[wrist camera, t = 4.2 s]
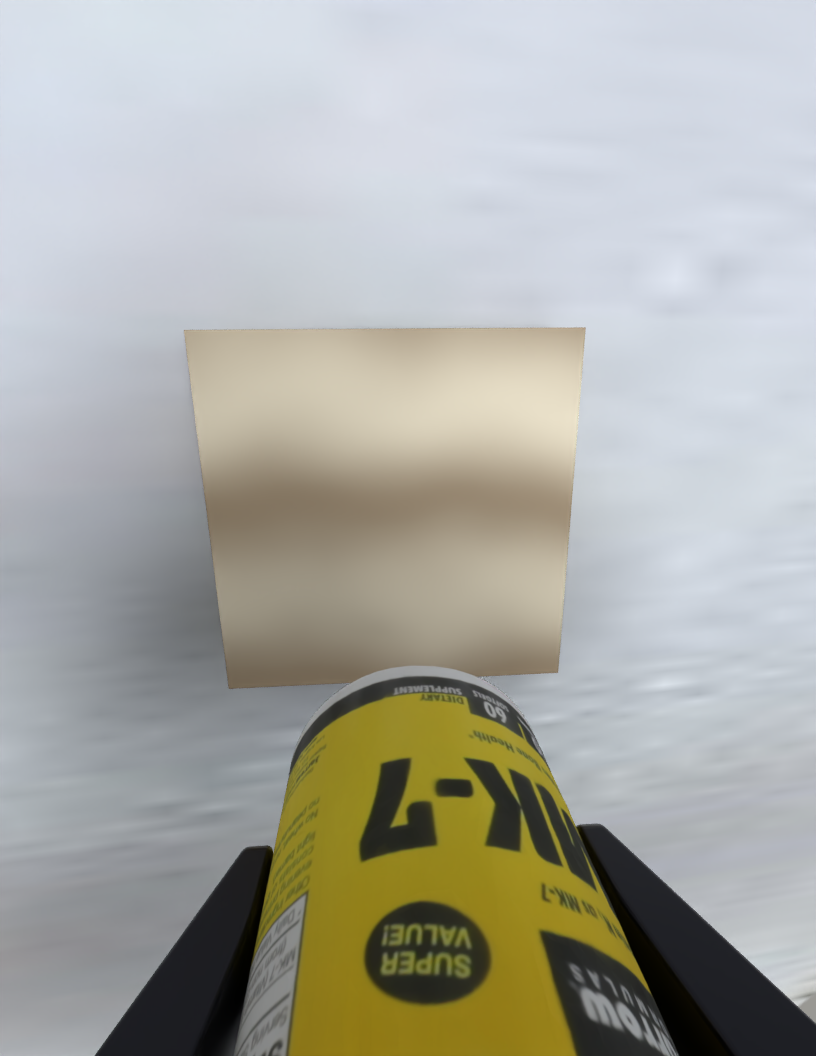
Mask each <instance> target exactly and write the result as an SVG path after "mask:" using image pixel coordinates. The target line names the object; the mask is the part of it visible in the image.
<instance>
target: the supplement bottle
mask: <svg viewBox="0 0 816 1056" xmlns="http://www.w3.org/2000/svg"><path fill="white" fill-rule="evenodd" d="M234 1056H679V1054H678V1052H677V1050H676V1048H675V1045H674V1043H673V1041H672V1038H671V1036H670V1034H669V1032H668V1029H667V1027H666V1025H665V1022H664V1020H663V1018H662V1016H661V1013H660V1011H659V1009H658V1007H657V1005H656V1003H655V1000H654V998H653V996H652V994H651V992H650V990H649V987H648V985H647V983H646V981H645V979H644V977H643V974H642V972H641V970H640V968H639V966H638V964H637V962H636V959H635V957H634V955H633V953H632V951H631V949H630V946H629V944H628V942H627V939H626V937H625V935H624V932H623V930H622V927H621V925H620V923H619V920H618V918H617V916H616V913H615V911H614V909H613V906H612V904H611V902H610V900H609V898H608V895H607V894H606V892H605V890H604V888H603V886H602V884H601V881H600V879H599V876H598V874H597V872H596V870H595V868H594V866H593V864H592V862H591V860H590V857H589V855H588V853H587V851H586V848H585V846H584V844H583V842H582V839H581V837H580V835H579V832H578V830H577V828H576V826H575V824H574V822H573V819H572V817H571V815H570V812H569V810H568V807H567V805H566V803H565V801H564V799H563V797H562V795H561V793H560V791H559V789H558V786H557V784H556V782H555V780H554V778H553V776H552V773H551V771H550V769H549V767H548V765H547V762H546V760H545V757H544V755H543V753H542V750H541V748H540V746H539V744H538V742H537V740H536V738H535V736H534V734H533V732H532V730H531V728H530V726H529V724H528V722H527V720H526V719H525V717H524V716H523V714H522V713H521V711H520V710H519V709H518V708H517V706H516V705H515V704H514V703H513V702H512V701H511V700H510V699H509V698H508V697H507V696H506V695H505V694H504V693H503V692H502V691H500V690H499V689H497V688H496V687H495V686H493V685H491V684H490V683H488V682H486V681H485V680H483V679H480V678H478V677H476V676H473V675H471V674H468V673H465V672H462V671H458V670H455V669H450V668H443V667H437V666H403V667H395V668H389V669H385V670H381V671H377V672H374V673H372V674H369V675H366V676H364V677H362V678H360V679H358V680H356V681H354V682H352V683H350V684H349V685H347V686H345V687H344V688H342V689H341V690H339V691H338V692H337V693H335V694H334V695H333V696H331V697H330V698H329V699H328V700H327V701H326V702H325V703H324V704H323V705H322V706H321V707H320V708H319V709H318V710H317V711H316V713H315V714H314V715H313V716H312V718H311V719H310V720H309V722H308V723H307V725H306V727H305V728H304V730H303V732H302V734H301V736H300V738H299V740H298V742H297V745H296V748H295V751H294V754H293V758H292V762H291V767H290V773H289V779H288V784H287V789H286V794H285V799H284V804H283V809H282V814H281V819H280V824H279V828H278V833H277V838H276V844H275V849H274V854H273V859H272V864H271V869H270V874H269V879H268V884H267V889H266V894H265V899H264V904H263V909H262V914H261V919H260V924H259V929H258V934H257V939H256V944H255V949H254V954H253V958H252V963H251V968H250V973H249V979H248V985H247V990H246V995H245V1000H244V1005H243V1010H242V1015H241V1020H240V1025H239V1030H238V1035H237V1040H236V1045H235V1051H234Z"/></svg>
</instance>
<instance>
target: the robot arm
mask: <svg viewBox="0 0 816 1056" xmlns="http://www.w3.org/2000/svg"><path fill="white" fill-rule="evenodd" d="M576 828H577V830H578V832H579V835H580V837H581V839H582V842H583V844H584V846H585V848H586V851H587V853H588V855H589V857H590V860H591V862H592V864H593V866H594V868H595V870H596V872H597V874H598V876H599V879H600V881H601V884H602V886H603V888H604V890H605V892H606V894H607V895H608V898H609V900H610V902H611V904H612V906H613V909H614V911H615V913H616V916H617V918H618V920H619V923H620V925H621V927H622V930H623V932H624V935H625V937H626V939H627V942H628V944H629V946H630V949H631V951H632V953H633V955H634V957H635V959H636V962H637V964H638V966H639V968H640V970H641V972H642V974H643V977H644V979H645V981H646V983H647V985H648V987H649V990H650V992H651V994H652V996H653V998H654V1000H655V1003H656V1005H657V1007H658V1009H659V1011H660V1013H661V1016H662V1018H663V1020H664V1022H665V1025H666V1027H667V1029H668V1032H669V1034H670V1036H671V1038H672V1041H673V1043H674V1045H675V1048H676V1050H677V1052H678V1054H679V1056H816V1023H815V1022H813V1020H812V1019H810V1018H809V1017H808V1016H807V1015H806V1014H805V1013H804V1012H803V1011H802V1010H801V1009H800V1008H799V1007H798V1006H797V1005H795V1004H794V1003H793V1002H792V1001H791V1000H790V999H789V998H788V997H787V996H786V995H785V994H784V993H783V992H781V991H780V990H779V989H778V988H777V987H776V986H775V985H774V984H773V983H772V982H771V981H770V980H769V979H768V978H766V977H765V976H764V975H763V974H762V973H761V972H760V971H759V970H758V969H757V968H756V967H755V966H754V965H753V964H751V963H750V962H749V961H748V960H747V959H746V958H745V957H744V956H743V955H742V954H741V953H740V952H739V951H737V950H736V949H735V948H734V947H733V946H732V945H731V944H730V943H729V942H728V941H727V940H726V939H725V938H724V937H722V936H721V935H720V934H719V933H718V932H717V931H716V930H715V929H714V928H713V927H712V926H711V925H710V924H709V923H707V922H706V921H705V920H704V919H703V918H702V917H701V916H700V915H699V914H698V913H697V912H696V911H695V910H693V909H692V908H691V907H690V906H689V905H688V904H687V903H686V902H685V901H684V900H683V899H682V898H681V897H680V896H678V895H677V894H676V893H675V892H674V891H673V890H672V889H671V888H670V887H669V886H668V885H667V884H666V883H665V882H663V881H662V880H661V879H660V878H659V877H658V876H657V875H656V874H655V873H654V872H653V871H652V870H651V869H650V868H648V867H647V866H646V865H645V864H644V863H643V862H642V861H641V860H640V859H639V858H638V857H637V856H636V855H634V854H633V853H632V852H631V851H630V850H629V849H628V848H627V847H626V846H625V845H624V844H623V843H622V842H621V841H619V840H618V839H617V838H616V837H615V836H614V835H613V834H612V833H611V832H610V831H609V830H608V829H607V828H605V827H604V826H603V825H601V824H582V825H577V826H576ZM272 859H273V850H272V848H271V847H270V846H252V847H247V848H245V849H244V850H243V851H242V852H241V853H240V855H239V856H238V857H237V859H236V860H235V862H234V863H233V864H232V866H231V867H230V869H229V870H228V871H227V873H226V874H225V876H224V877H223V878H222V880H221V881H220V882H219V884H218V885H217V887H216V888H215V889H214V891H213V892H212V894H211V895H210V896H209V898H208V899H207V900H206V902H205V903H204V905H203V906H202V907H201V909H200V910H199V912H198V913H197V914H196V916H195V917H194V919H193V920H192V921H191V923H190V924H189V925H188V927H187V928H186V930H185V931H184V932H183V934H182V935H181V937H180V938H179V939H178V941H177V942H176V944H175V945H174V946H173V948H172V949H171V950H170V952H169V953H168V955H167V956H166V957H165V959H164V960H163V962H162V963H161V964H160V966H159V967H158V969H157V970H156V971H155V973H154V974H153V975H152V977H151V978H150V980H149V981H148V982H147V984H146V985H145V987H144V988H143V989H142V991H141V992H140V993H139V995H138V996H137V998H136V999H135V1000H134V1002H133V1003H132V1005H131V1006H130V1007H129V1009H128V1010H127V1012H126V1013H125V1014H124V1016H123V1017H122V1018H121V1020H120V1021H119V1023H118V1024H117V1025H116V1027H115V1028H114V1030H113V1031H112V1032H111V1034H110V1035H109V1036H108V1038H107V1039H106V1041H105V1042H104V1043H103V1045H102V1046H101V1048H100V1049H99V1050H98V1052H97V1053H96V1055H95V1056H234V1051H235V1045H236V1040H237V1035H238V1030H239V1025H240V1020H241V1015H242V1010H243V1005H244V1000H245V995H246V990H247V985H248V979H249V973H250V968H251V963H252V958H253V954H254V949H255V944H256V939H257V934H258V929H259V924H260V919H261V914H262V909H263V904H264V899H265V894H266V889H267V884H268V879H269V874H270V869H271V864H272Z"/></svg>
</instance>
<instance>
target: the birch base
mask: <svg viewBox="0 0 816 1056" xmlns="http://www.w3.org/2000/svg"><path fill="white" fill-rule="evenodd" d="M585 329H586V328H432V329H268V330H184V335H185V343H186V351H187V358H188V366H189V374H190V382H191V390H192V398H193V406H194V414H195V422H196V430H197V438H198V446H199V454H200V462H201V470H202V478H203V486H204V494H205V502H206V510H207V518H208V526H209V534H210V542H211V550H212V558H213V566H214V574H215V582H216V590H217V598H218V606H219V614H220V622H221V630H222V638H223V646H224V654H225V662H226V670H227V678H228V686H229V689H234V688H255V687H275V686H295V685H316V684H336V683H352V682H354V681H356V680H358V679H360V678H362V677H364V676H366V675H369V674H372V673H374V672H377V671H381V670H385V669H389V668H395V667H403V666H437V667H443V668H450V669H455V670H458V671H462V672H465V673H468V674H471V675H473V676H476V677H479V676H499V675H520V674H540V673H558V666H559V654H560V641H561V629H562V616H563V604H564V591H565V579H566V566H567V554H568V541H569V529H570V516H571V504H572V491H573V479H574V466H575V454H576V441H577V429H578V416H579V404H580V391H581V379H582V366H583V354H584V341H585Z"/></svg>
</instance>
